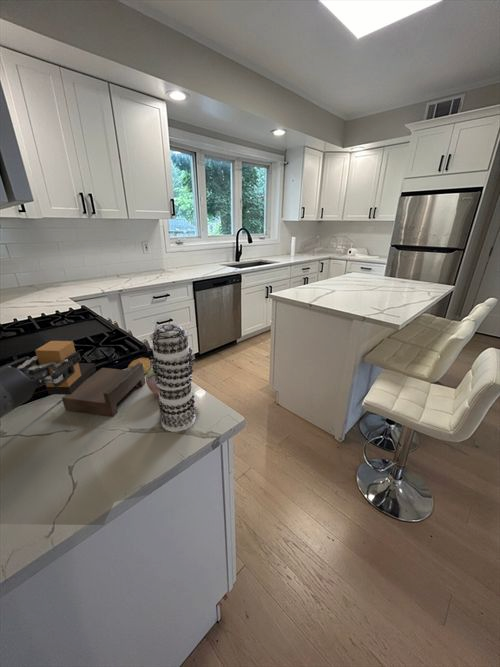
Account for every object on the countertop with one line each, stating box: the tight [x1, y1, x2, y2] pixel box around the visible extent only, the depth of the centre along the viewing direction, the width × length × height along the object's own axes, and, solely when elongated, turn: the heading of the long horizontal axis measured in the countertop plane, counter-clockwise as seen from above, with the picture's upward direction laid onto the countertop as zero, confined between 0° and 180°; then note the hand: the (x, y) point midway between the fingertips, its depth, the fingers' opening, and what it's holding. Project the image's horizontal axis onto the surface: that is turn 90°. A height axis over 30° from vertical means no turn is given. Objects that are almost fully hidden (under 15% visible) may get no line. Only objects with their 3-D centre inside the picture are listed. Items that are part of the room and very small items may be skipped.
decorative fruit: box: [145, 367, 159, 396], centre depth 79 cm, size 9×8×10 cm
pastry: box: [127, 357, 151, 375], centre depth 93 cm, size 9×7×4 cm
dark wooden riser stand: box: [61, 363, 146, 418], centre depth 78 cm, size 14×16×7 cm
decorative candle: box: [149, 324, 197, 433], centre depth 65 cm, size 9×9×25 cm
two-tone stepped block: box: [34, 340, 97, 396], centre depth 65 cm, size 11×5×11 cm, turn 0°
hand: (66, 354), depth 64 cm, fingers closed on two-tone stepped block, 5 cm apart
